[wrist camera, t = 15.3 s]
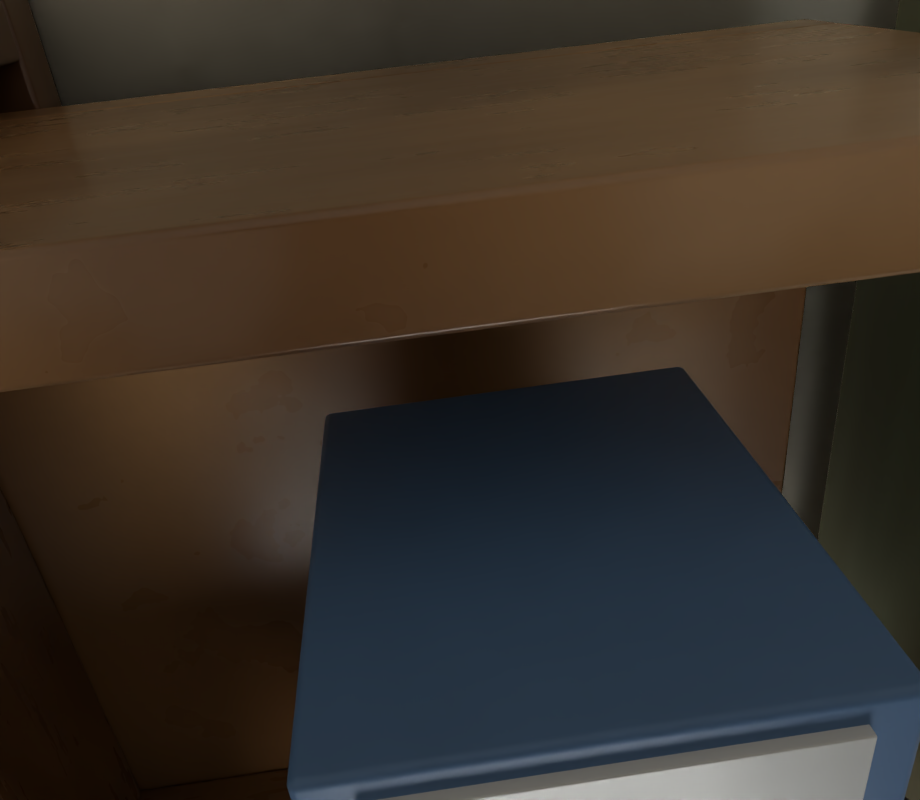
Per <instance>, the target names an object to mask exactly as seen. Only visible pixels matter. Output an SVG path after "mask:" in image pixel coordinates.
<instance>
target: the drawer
mask: <svg viewBox="0 0 920 800" xmlns="http://www.w3.org/2000/svg"><path fill="white" fill-rule="evenodd" d="M850 281H857V283H856V290H855V297H854V303H853V310H852V316H851V323H850V330H849V336H848V343H847V349H846V356H845V363H844V369H843V376H842V382H841V389H840V396H839V402H838V409H837V415H836V422H835V429H834V435H833V442H832V448H831V455H830V462H829V468H828V475H827V481H826V488H825V495H824V501H823V508H822V514H821V521H820V528H819V534H818V542H819V543H820V544H821V545H822V547H823V548H824V549H825V551H826V552H827V553H828V554H829V556H830V557H831V558H832V559H833V561H834V562H835V563H836V565H837V566H838V567H839V568H840V570H841V571H842V572H843V574H844V575H845V576H846V577H847V579H848V580H849V581H850V583H851V584H852V585H853V586H854V588H855V589H856V590H857V592H858V593H859V594H860V595H861V597H862V598H863V599H864V600H865V602H866V603H867V604H868V606H869V607H870V608H871V609H872V611H873V612H874V613H875V615H876V616H877V617H878V618H879V620H880V621H881V622H882V624H883V625H884V626H885V627H886V629H887V630H888V631H889V633H890V634H891V635H892V636H893V638H894V639H895V640H896V641H897V643H898V644H899V645H900V647H901V648H902V649H903V650H904V652H905V653H906V654H907V656H908V657H909V658H910V659H911V661H912V662H913V663H914V665H915V666H916V667H917V668H918V670H919V671H920V0H899V6H898V13H897V19H896V26H895V30H893V29H884V28H876V27H867V26H859V25H851V24H842V23H833V22H825V21H816V20H808V19H801V20H793V21H784V22H776V23H767V24H759V25H750V26H742V27H733V28H725V29H716V30H708V31H699V32H691V33H682V34H674V35H665V36H657V37H648V38H640V39H631V40H622V41H614V42H605V43H597V44H588V45H580V46H571V47H563V48H554V49H546V50H537V51H529V52H520V53H512V54H503V55H495V56H486V57H478V58H469V59H461V60H452V61H443V62H435V63H426V64H418V65H409V66H401V67H392V68H384V69H375V70H367V71H358V72H350V73H341V74H333V75H324V76H316V77H307V78H299V79H290V80H281V81H273V82H264V83H256V84H247V85H239V86H230V87H222V88H213V89H205V90H196V91H188V92H179V93H171V94H162V95H154V96H145V97H137V98H128V99H120V100H111V101H102V102H94V103H85V104H77V105H68V106H60V107H51V108H43V109H34V110H26V111H17V112H9V113H0V800H291V798H290V795H289V792H288V789H287V786H286V785H287V776H288V766H289V757H290V747H291V738H292V728H293V719H294V709H295V700H296V690H297V681H298V671H299V662H300V652H301V643H302V633H303V624H304V614H305V605H306V595H307V586H308V576H309V567H310V557H311V548H312V538H313V529H314V520H315V510H316V501H317V491H318V482H319V472H320V463H321V453H322V444H323V434H324V425H325V419H326V416H327V415H329V414H332V413H339V412H347V411H354V410H362V409H369V408H376V407H384V406H391V405H399V404H406V403H413V402H421V401H428V400H436V399H443V398H450V397H458V396H465V395H473V394H480V393H487V392H495V391H502V390H510V389H517V388H524V387H532V386H539V385H547V384H554V383H561V382H569V381H576V380H584V379H591V378H598V377H606V376H613V375H621V374H628V373H635V372H643V371H650V370H658V369H665V368H672V367H681V368H683V369H684V370H685V371H686V372H687V374H688V375H689V376H690V378H691V379H692V380H693V381H694V383H695V384H696V385H697V387H698V388H699V389H700V390H701V392H702V393H703V394H704V395H705V397H706V398H707V399H708V401H709V402H710V403H711V404H712V406H713V407H714V408H715V410H716V411H717V412H718V413H719V415H720V416H721V417H722V419H723V420H724V421H725V422H726V424H727V425H728V426H729V428H730V429H731V430H732V431H733V433H734V434H735V435H736V436H737V438H738V439H739V440H740V442H741V443H742V444H743V445H744V447H745V448H746V449H747V451H748V452H749V453H750V454H751V456H752V457H753V458H754V460H755V461H756V462H757V463H758V465H759V466H760V467H761V469H762V470H763V471H764V472H765V474H766V475H767V476H768V477H769V479H770V480H771V481H772V483H773V484H774V485H775V486H776V488H777V489H778V490H779V492H780V493H781V494H782V488H783V480H784V471H785V463H786V455H787V446H788V438H789V430H790V421H791V413H792V404H793V396H794V388H795V379H796V371H797V363H798V354H799V346H800V338H801V329H802V321H803V312H804V304H805V296H806V287H811V286H819V285H827V284H834V283H842V282H850ZM905 797H906V798H908V799H909V800H920V742H919V746H918V749H917V753H916V757H915V761H914V764H913V768H912V772H911V776H910V779H909V783H908V787H907V791H906V794H905Z"/></svg>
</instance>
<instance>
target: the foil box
mask: <svg viewBox="0 0 920 800" xmlns="http://www.w3.org/2000/svg"><path fill="white" fill-rule="evenodd" d="M919 742H920V671H919V670H918V668H917V667H916V666H915V665H914V663H913V662H912V661H911V659H910V658H909V657H908V656H907V654H906V653H905V652H904V650H903V649H902V648H901V647H900V645H899V644H898V643H897V641H896V640H895V639H894V638H893V636H892V635H891V634H890V633H889V631H888V630H887V629H886V627H885V626H884V625H883V624H882V622H881V621H880V620H879V618H878V617H877V616H876V615H875V613H874V612H873V611H872V609H871V608H870V607H869V606H868V604H867V603H866V602H865V600H864V599H863V598H862V597H861V595H860V594H859V593H858V592H857V590H856V589H855V588H854V586H853V585H852V584H851V583H850V581H849V580H848V579H847V577H846V576H845V575H844V574H843V572H842V571H841V570H840V568H839V567H838V566H837V565H836V563H835V562H834V561H833V559H832V558H831V557H830V556H829V554H828V553H827V552H826V551H825V549H824V548H823V547H822V545H821V544H820V543H819V542H818V540H817V539H816V538H815V536H814V535H813V534H812V533H811V531H810V530H809V529H808V527H807V526H806V525H805V524H804V522H803V521H802V520H801V518H800V517H799V516H798V515H797V513H796V512H795V511H794V510H793V508H792V507H791V506H790V504H789V503H788V502H787V501H786V499H785V498H784V497H783V495H782V494H781V493H780V492H779V490H778V489H777V488H776V486H775V485H774V484H773V483H772V481H771V480H770V479H769V477H768V476H767V475H766V474H765V472H764V471H763V470H762V469H761V467H760V466H759V465H758V463H757V462H756V461H755V460H754V458H753V457H752V456H751V454H750V453H749V452H748V451H747V449H746V448H745V447H744V445H743V444H742V443H741V442H740V440H739V439H738V438H737V436H736V435H735V434H734V433H733V431H732V430H731V429H730V428H729V426H728V425H727V424H726V422H725V421H724V420H723V419H722V417H721V416H720V415H719V413H718V412H717V411H716V410H715V408H714V407H713V406H712V404H711V403H710V402H709V401H708V399H707V398H706V397H705V395H704V394H703V393H702V392H701V390H700V389H699V388H698V387H697V385H696V384H695V383H694V381H693V380H692V379H691V378H690V376H689V375H688V374H687V372H686V371H685V370H684V369H683V368H681V367H672V368H665V369H658V370H650V371H643V372H635V373H628V374H621V375H613V376H606V377H598V378H591V379H584V380H576V381H569V382H561V383H554V384H547V385H539V386H532V387H524V388H517V389H510V390H502V391H495V392H487V393H480V394H473V395H465V396H458V397H450V398H443V399H436V400H428V401H421V402H413V403H406V404H399V405H391V406H384V407H376V408H369V409H362V410H354V411H347V412H339V413H332V414H329V415H327V416H326V419H325V425H324V434H323V444H322V453H321V463H320V472H319V482H318V491H317V501H316V510H315V520H314V529H313V538H312V548H311V557H310V567H309V576H308V586H307V595H306V605H305V614H304V624H303V633H302V643H301V652H300V662H299V671H298V681H297V690H296V700H295V709H294V719H293V728H292V738H291V747H290V757H289V766H288V776H287V785H286V786H287V789H288V792H289V795H290V798H291V800H904V798H905V794H906V791H907V787H908V783H909V779H910V776H911V772H912V768H913V764H914V761H915V757H916V753H917V749H918V746H919Z"/></svg>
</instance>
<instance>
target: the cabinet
mask: <svg viewBox="0 0 920 800" xmlns="http://www.w3.org/2000/svg"><path fill="white" fill-rule="evenodd" d="M60 106H62V105H61V102H60V99H59V96H58V93H57V90H56V86H55V83H54V80H53V77H52V74H51V71H50V68H49V65H48V62H47V59H46V56H45V52H44V49H43V46H42V43H41V40H40V37H39V34H38V31H37V28H36V25H35V22H34V18H33V15H32V12H31V9H30V6H29V3H28V0H0V113H9V112H17V111H26V110H34V109H43V108H51V107H60Z"/></svg>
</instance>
